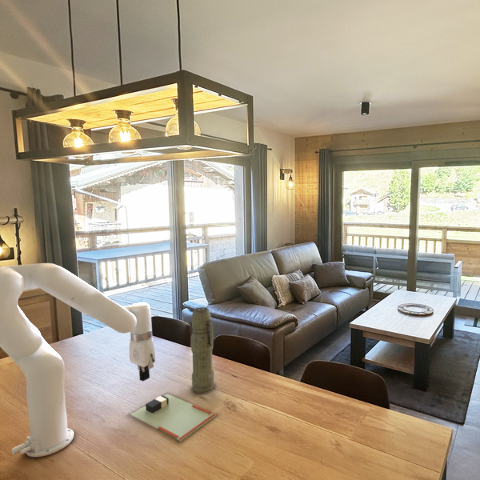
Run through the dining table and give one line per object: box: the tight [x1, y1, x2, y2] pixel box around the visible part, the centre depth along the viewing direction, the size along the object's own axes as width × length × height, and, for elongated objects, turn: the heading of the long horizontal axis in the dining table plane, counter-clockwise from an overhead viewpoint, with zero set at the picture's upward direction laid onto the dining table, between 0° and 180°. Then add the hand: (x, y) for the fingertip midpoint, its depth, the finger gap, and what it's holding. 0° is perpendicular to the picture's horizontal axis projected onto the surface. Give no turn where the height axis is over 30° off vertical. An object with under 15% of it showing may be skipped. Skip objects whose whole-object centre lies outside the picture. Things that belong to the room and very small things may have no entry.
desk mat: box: [130, 393, 217, 442], centre depth 129 cm, size 16×28×1 cm, turn 61°
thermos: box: [189, 306, 215, 394], centre depth 146 cm, size 9×12×35 cm
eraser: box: [145, 394, 169, 413], centre depth 133 cm, size 7×4×3 cm, turn 151°
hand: (144, 379), depth 136 cm, fingers closed
